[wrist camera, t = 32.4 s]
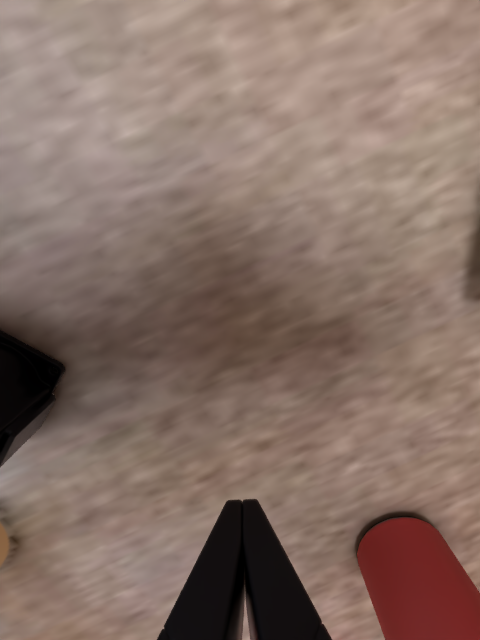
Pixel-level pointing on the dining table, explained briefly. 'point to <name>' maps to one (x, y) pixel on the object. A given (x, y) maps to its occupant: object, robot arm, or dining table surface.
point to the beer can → (417, 583)
